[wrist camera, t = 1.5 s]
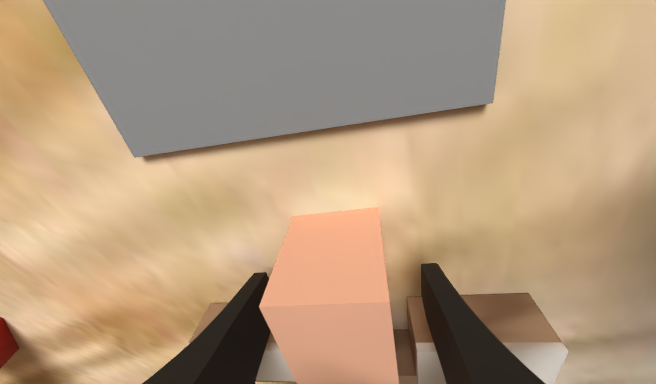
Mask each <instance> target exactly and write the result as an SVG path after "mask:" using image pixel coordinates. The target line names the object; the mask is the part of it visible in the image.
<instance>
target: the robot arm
mask: <svg viewBox="0 0 656 384" xmlns="http://www.w3.org/2000/svg"><path fill="white" fill-rule="evenodd" d="M268 281H269V278H268V276H267V273H266V272H264V273H254V274H253V275H252V276H251V278H250V279H249V280H248V281H247V282H246V283H245V285H244V286H243V287H242V288H241V289H240V290H239V292H238V293H237V294H236V295H235V296H234V297H233V299H232V300H231V301H230V302H229V303H228V304H227V305H226V307H225V308H224V309H223V310H222V311H221V312H220V313H219V314H218V315H217V316H216V318H215V319H214V320H213V321H212V322H211V323H210V324H209V325H208V326H207V327H206V328H205V329H204V330H203V331H202V332H201V333H200V334H199V335H198V336H197V337H196V338H195V339H194V340H193V341H192V342H191V343H190V344H189V345H188V346H187V347H186V348H184V349H183V350H182V351H181V352H180V353H179V354H178V355H177V356H176V357H174V358H173V359H172V360H171V361H170V362H168V363H167V364H166V365H165V366H164V367H162V368H161V369H160V370H159V371H158V372H157V373H155V374H154V375H153V376H152V377H150V378H149V379H148V380H146V381H145V382H144V383H143V384H255V381H256V377H257V374H258V370H259V367H260V364H261V361H262V358H263V355H264V351H265V348H266V345H267V342H268V339H269V336H270V332H271V330H270V328H269V326H268V324H267V322H266V320H265V318H264V316H263V314H262V312H261V310H260V308H259V305H260V303H261V300H262V297H263V295H264V292H265V289H266V287H267V284H268ZM421 296H422V301H423V306H424V310H425V315H426V320H427V323H428V326H429V329H430V333H431V336H432V339H433V342H434V345H435V348H436V351H437V355H438V358H439V361H440V364H441V367H442V370H443V374H444V377H445V380H446V384H546V383H544V382H543V381H542V380H541V379H540V378H539V377H538V376H536V375H535V374H534V373H533V372H532V371H531V370H530V369H529V368H527V367H526V366H525V365H524V364H523V363H522V362H521V361H520V360H519V359H518V358H517V357H516V356H515V355H514V354H513V353H512V352H511V351H510V350H509V349H508V348H507V347H506V346H505V345H504V344H503V343H502V342H501V341H500V340H499V339H498V338H497V337H496V336H495V335H494V334H493V333H492V332H491V331H490V330H489V329H488V328H487V326H486V325H485V324H484V323H483V322H482V321H481V320H480V319H479V318H478V316H477V315H476V314H475V313H474V312H473V311H472V309H471V308H470V307H469V306H468V305H467V303H466V302H465V301H464V300H463V298H462V297H461V296H460V295H459V293H458V292H457V291H456V289H455V288H454V287H453V285H452V284H451V283H450V281H449V280H448V279H447V277H446V276H445V274H444V273H443V271H442V270H441V268H440V267H439V265H438V264H436V263H429V264H421Z"/></svg>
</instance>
